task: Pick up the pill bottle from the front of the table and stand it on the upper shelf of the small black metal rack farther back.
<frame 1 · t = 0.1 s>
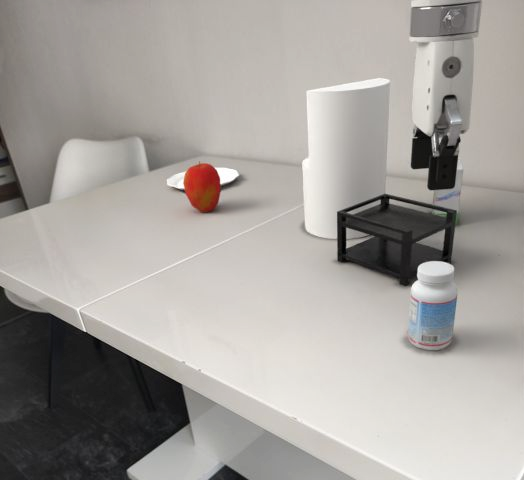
hand: (431, 177, 70), 22 cm above the table, tool pointing down, fingers open, 9 cm apart
rack: (392, 261, 100), on the table
pill bottle: (429, 341, 77), on the table
ink box: (444, 219, 116), on the table
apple: (206, 211, 135), on the table
plate: (203, 183, 156), on the table
cylinder: (344, 225, 119), on the table
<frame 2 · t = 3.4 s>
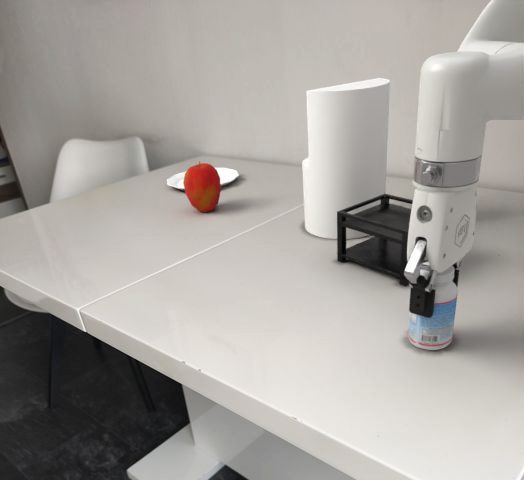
hand: (433, 303, 74), 6 cm above the table, tool pointing down, fingers closed on pill bottle, 6 cm apart
pill bottle: (429, 341, 77), on the table, touching gripper
everything else where it was.
when the fingers open (14 cm above the table, at t = 9.5 s): pill bottle stays where it is, resting on rack.
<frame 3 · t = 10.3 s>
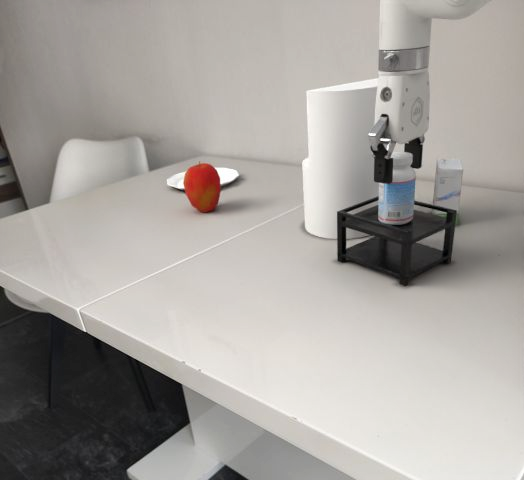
hand: (398, 174, 91), 16 cm above the table, tool pointing down, fingers open, 9 cm apart
pill bottle: (395, 221, 96), point 8 cm above the table, touching rack
everything else where it was.
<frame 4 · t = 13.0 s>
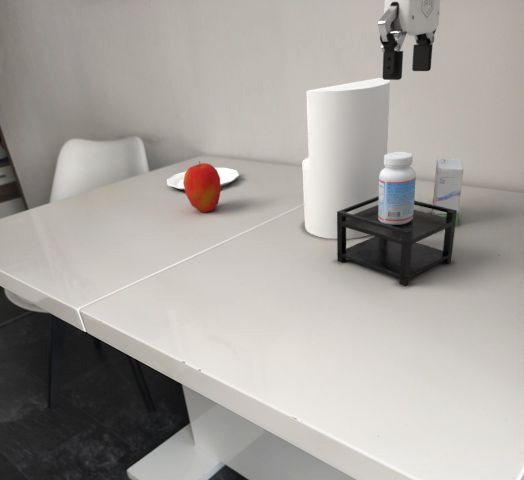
hand: (407, 75, 90), 30 cm above the table, tool pointing down, fingers open, 9 cm apart
nothing on the table moved.
at the end: pill bottle inside the target area on the rack (0.0 cm from its centre), point 7.8 cm above the rack's base; pill bottle tilted 0°; the gripper is holding nothing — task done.
